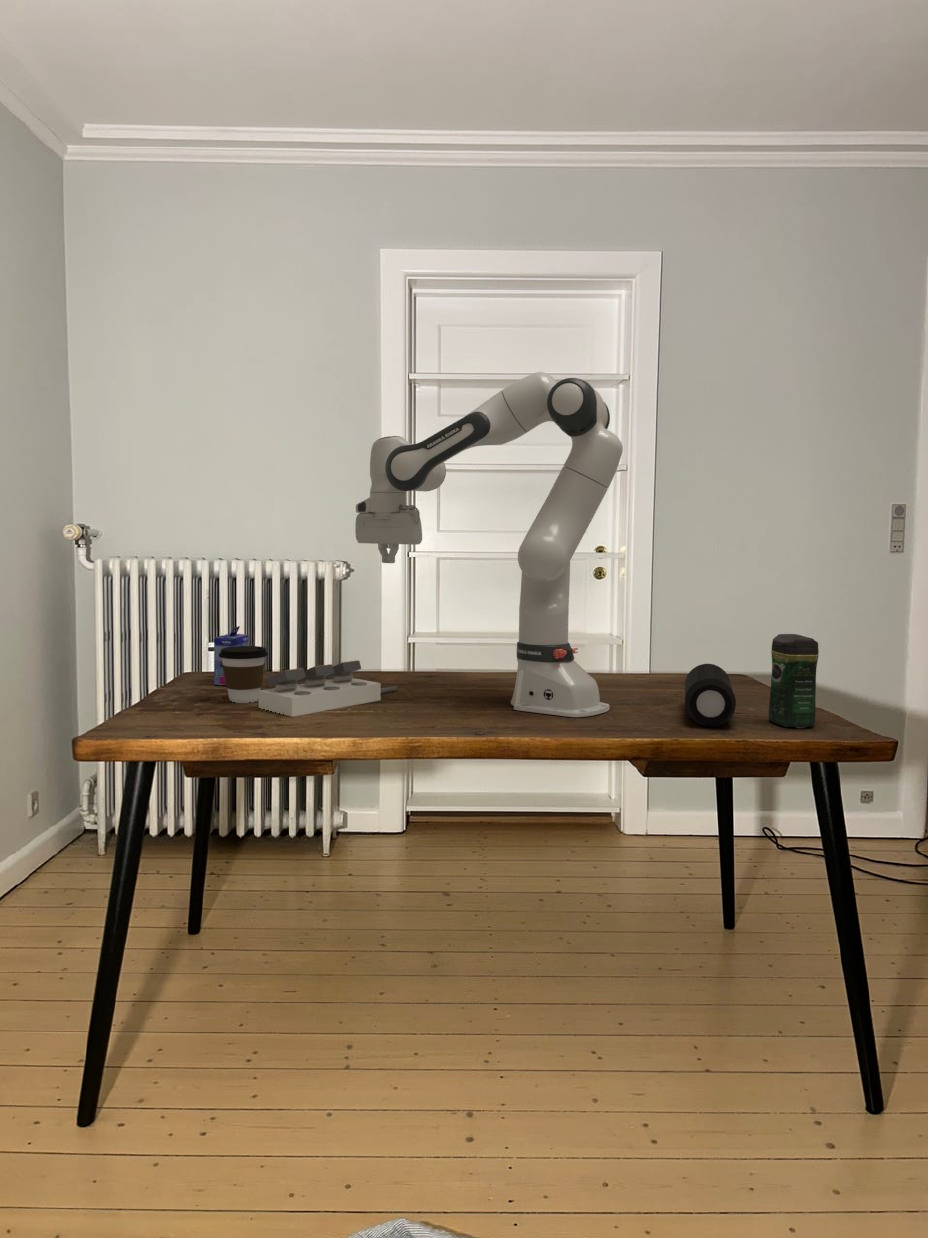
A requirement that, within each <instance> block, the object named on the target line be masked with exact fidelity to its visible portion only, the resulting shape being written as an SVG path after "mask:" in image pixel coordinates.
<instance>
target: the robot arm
mask: <svg viewBox="0 0 928 1238" xmlns="http://www.w3.org/2000/svg"><path fill="white" fill-rule="evenodd" d="M610 414H611V413H610V409H609V407H608V405H607V403H606V401H604V400H603V398H602V395H601V394H600V393H599V392H598V391H597V390H596V389H595V388H594V387H593V386H592V385H591V384H590V383H589V382H587V381H586V380H584V379H581V378H576V377H567V378H564V379H561V380H559V381H557V380H556V379H555V378H554V377H553V376H552V375H550V374H548V373H547V372H543V371H538V372H537V371H536V372H534V373H532V374H530V375H527V376H524V377H523V378H521V379H519V380H517V381H515V382H513V383H511V384H509V385H508V386H506V387H505V388H503V389H502V390H500V391H499V392H497V393H496V394H494V395H493V396H491V397H490V398H489V399H487V400H486V401H484V402H483V403H482V404H480V405H479V406H478V407H476V408H475V409H473V410H472V411H470V412H468V413H467V414H466V415H465V416H463V417H462V418H460V419H458V420H457V421H455V422H453V423H451V424H450V425H448V426H445V428H443V429H441V430H439V431H437V432H436V433H434V434H432V435H431V436H429V437H427V438H426V439H424V440H421V441H420V442H417V443H413V444H412V443H411V442H409V441H407V440H406V439H405V438H404V437H403V436H400V435H392V436H391V435H390V436H383V437H381V438H378V439H376V440H375V441H374V442H373V443H372V447H371V450H370V451H371V452H370V458H369V459H370V460H369V476H370V480H371V481H370V482H371V487H370V490H369V497H368V498H366V499H364V500H363V501H362V500H361V501H360V502H358V503H356V504H355V512H356V513H358V514H357V515H356V518H355V525H354V526H355V540H356V541H357V543H358V544H370V545H371V544H376V545H377V548H378V549H377V550H378V551H379V554H380V555H381V563H382V564H395V563H396V556H397V554H398V551H399V549H400V547H399V546H400V545H415V546H417V545H420V544H421V543H422V541H423V527H422V526H423V525H422V521H421V517H420V515H421V514H420V513H421V512H420V510H419V509H418V508H417V506H416V505H413V504H410V505H408V503H407V502H408V501H407V500H408V497H407V496H408V494H407V493H408V492H411V491H413V492H431V491H434V490H437V489H438V488H440V487H441V486H442V485H443V483H444V481H445V479H446V475H447V468H446V464H445V463H446V461H448V460H450V459H451V458H453V457H455V456H457V455H458V454H460V453H462V452H464V451H466V450H468V449H471V448H475V447H483V446H501V445H505V444H508V443H510V442H512V441H514V440H516V439H519V438H520V437H522V436H524V435H525V434H528V433H529V432H530V431H532V430H534V429H535V428H537V427H538V426H541V424H544V423H546V422H547V423H548V422H551V423H552V422H553V423H554V424H555V425H557V426H558V427H559V429H560V430H561V431H562V432H563V433H564V434H566V435H567V436H568V437H570V438H571V443H572V445H571V449H570V452H569V454H568V456H567V458H566V459H565V462H564V464H563V466H562V467H561V470H560V471H559V473H558V476H557V477H556V479H555V481H554V483H553V485H552V488H551V489H550V491H549V493H548V495H547V497H546V499H545V500H544V502H543V503H542V506H541V508H540V509H539V511H538V512H537V514H536V516H535V518H534V520H533V522H532V523H531V526H530V527H529V529H528V531H527V533H526V535H525V537H524V538H523V540H522V542H521V544H520V545H519V549H518V552H517V562H518V567H519V568H520V570H521V580H520V593H519V594H520V595H519V597H520V598H519V604H518V605H519V607H518V611H519V612H518V641H517V642H516V659H517V660H516V661H517V671H516V678H515V679H516V680H515V684H514V690H513V694H512V698H511V700H510V704H511V706H513V710H514V711H515V710H516V711H521V712H529V713H535V714H536V713H537V714H545V715H553V716H561V717H567V718H568V717H569V718H584V717H592V716H596V715H600V714H603V713H606V712H608V711H610V703H606V702H602V701H600V700H601V699H600V691H599V685H598V683H597V680H596V679H594V677H592V676H591V675H590V674H589V673H588V672H586V670H585V669H584V668H582V666H581V665H579V664H578V662H577V661H575V656H574V654H578V653H579V651H578V649H579V647H574V648H572V646H571V644H570V643H569V612H570V611H569V609H570V607H569V606H570V586H571V585H570V580H571V579H570V578H571V577H570V576H571V560H572V558H573V556H574V554H575V552H576V551H577V548H578V546H579V544H580V543H581V542H582V540H583V537H584V535H585V533H586V532H587V530H588V528H589V526H590V524H591V522H592V520H594V519H593V518H594V517H595V514H596V513H597V511H598V509H599V507H600V505H601V503H602V501H603V499H604V497H605V495H606V494H607V492H608V490H609V488H610V486H611V484H612V482H613V479H614V477H615V475H616V472H617V470H618V467H619V464H620V460H621V457H622V454H623V451H624V450H623V443H622V441H621V440H620V438H619V437H618V435H617V434H615V433H614V432H612V431H611V430H609V426H610V420H611V416H610ZM388 549H389V551H388Z"/></svg>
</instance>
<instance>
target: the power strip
mask: <svg viewBox="0 0 928 1238" xmlns="http://www.w3.org/2000/svg"><path fill="white" fill-rule="evenodd" d="M381 684H382V683H381V682H377V681H370V680H366V679H359V678H354V675H353V673H349V674H343V675H336V676H333V677H332V678H329V679H327V678H326V677H322V678H316V679H310V680H306V681H304V683H299V684H298V682H297V681H295V682H290V683H283V684H277V685H276V686H274V688H272V687H271V688H266V689H260V691H259V698H258V709H259V708H261V709H260V710H262V709H265V710H264V711H266V710H269V711H268V712H270V711H272V713H275V712H276V713H275V714H279V713H280V715H283V714H284V716H287V717H292V718H293V717H298V716H303V715H309V714H315V713H319V712H320V713H321V712H324V711H330V710H336V709H342V708H347V707H351V706H357V705H358V706H359V705H363V704H367V703H373V702H378V701H381V700H382V697H381V695H382V694H387V693H393V692H396V691H397V690H398V687H397V686H390V687H389V686H388V687H382V688H381ZM392 691H393V692H392Z"/></svg>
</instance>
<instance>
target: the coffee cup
mask: <svg viewBox="0 0 928 1238" xmlns="http://www.w3.org/2000/svg"><path fill="white" fill-rule="evenodd" d="M268 655H269V652H268V651H267V648H266V647H264V646H257V645H248V646H234V647H226V648H222V649H221V653H219V657H220V658H222V662H223V665H222V666H223V672H224V677H225V683H226V686H225V687H226V689H227V695H228V699H229V701H230V702H231V701H232V702H231V703H233V702H235V704H249V702H251V703H256V702H258V701H259V691H260V690H262V686H263V681H264V679H263V678H264V672H265V664H266V663H265V661H266V657H268ZM255 701H256V702H255Z"/></svg>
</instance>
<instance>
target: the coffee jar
mask: <svg viewBox="0 0 928 1238" xmlns="http://www.w3.org/2000/svg"><path fill="white" fill-rule="evenodd" d="M770 655H771V680H770V693H769V704H768V716H767V717H768V720H770V722H772V723H775V725H780V726H782V727H794V728H795V727H796V728H795V729H805V727H806V728H808V727H813V726H815V725H816V709H817V708H816V706H817V705H816V693H817V692H816V691H817V690H816V688H817V687H816V686H817V667H818V666H817V665H818V661H819V642H818V641H816V640H815V639H814V638H812V637H809V636H805V635H800V634H796V633H780V634H777V635H776V636H775V637H774V638H772V643H771V654H770Z"/></svg>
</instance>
